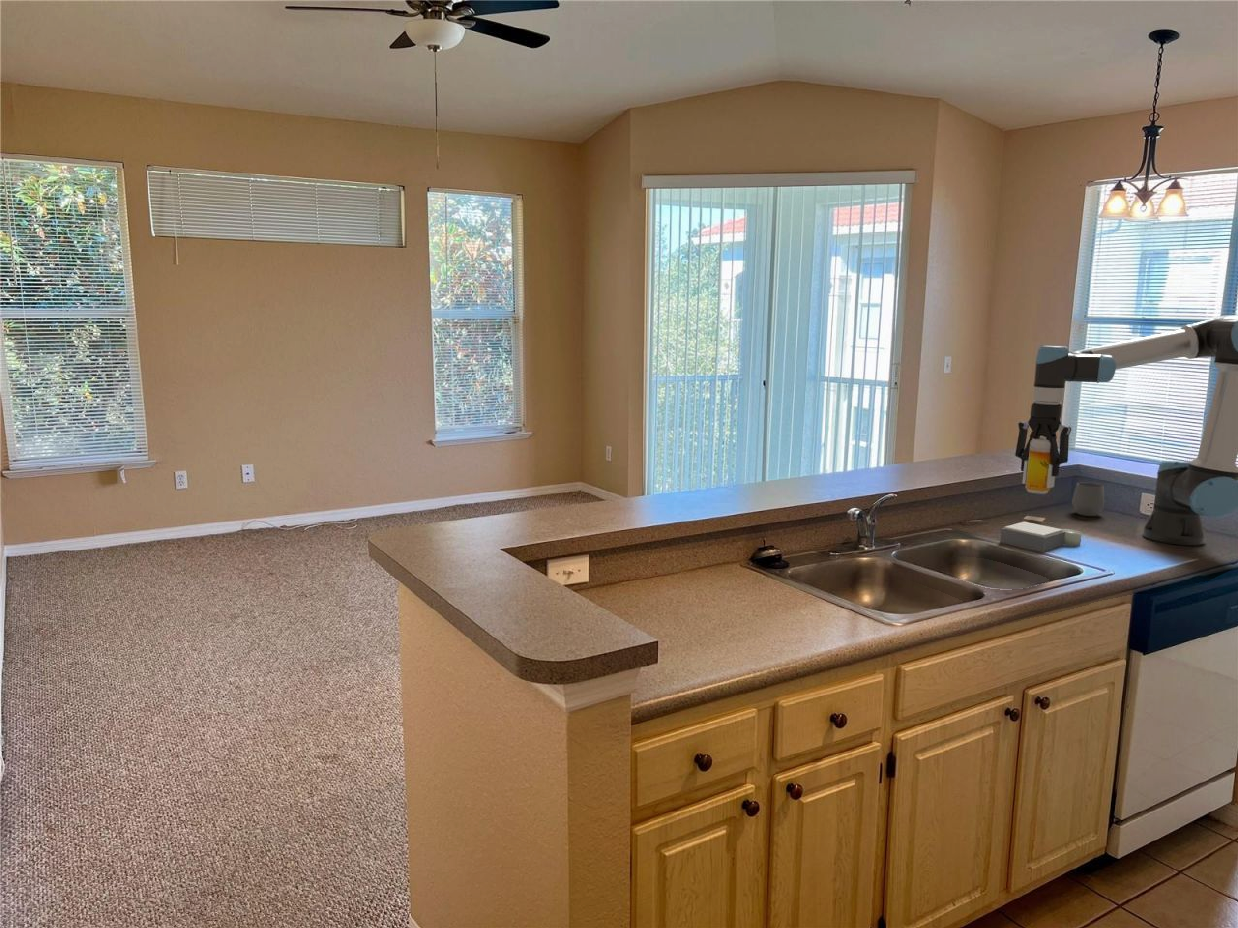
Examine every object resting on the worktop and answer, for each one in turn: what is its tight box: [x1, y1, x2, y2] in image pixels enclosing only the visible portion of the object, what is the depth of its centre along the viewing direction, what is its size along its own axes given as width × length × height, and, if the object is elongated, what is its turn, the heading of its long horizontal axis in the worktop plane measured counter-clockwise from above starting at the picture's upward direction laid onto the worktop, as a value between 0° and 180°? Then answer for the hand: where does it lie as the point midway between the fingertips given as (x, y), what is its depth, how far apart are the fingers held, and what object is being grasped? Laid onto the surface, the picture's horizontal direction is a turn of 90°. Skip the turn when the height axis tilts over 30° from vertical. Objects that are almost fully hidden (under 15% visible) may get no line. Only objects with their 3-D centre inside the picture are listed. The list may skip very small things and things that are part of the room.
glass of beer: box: [1025, 436, 1052, 495], centre depth 233 cm, size 6×6×15 cm
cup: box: [1071, 481, 1105, 517], centre depth 274 cm, size 10×9×10 cm
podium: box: [999, 521, 1065, 553], centre depth 237 cm, size 12×12×5 cm
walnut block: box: [1022, 515, 1046, 526], centre depth 247 cm, size 5×5×5 cm
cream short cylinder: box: [1062, 528, 1083, 547], centre depth 238 cm, size 6×6×4 cm
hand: (1037, 485), depth 234 cm, fingers closed on glass of beer, 6 cm apart
